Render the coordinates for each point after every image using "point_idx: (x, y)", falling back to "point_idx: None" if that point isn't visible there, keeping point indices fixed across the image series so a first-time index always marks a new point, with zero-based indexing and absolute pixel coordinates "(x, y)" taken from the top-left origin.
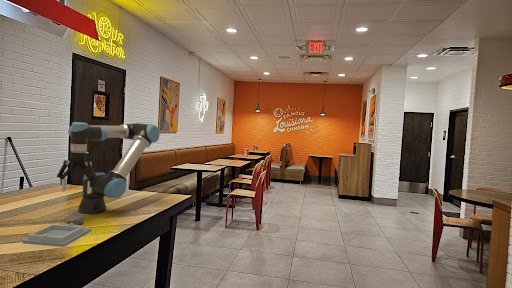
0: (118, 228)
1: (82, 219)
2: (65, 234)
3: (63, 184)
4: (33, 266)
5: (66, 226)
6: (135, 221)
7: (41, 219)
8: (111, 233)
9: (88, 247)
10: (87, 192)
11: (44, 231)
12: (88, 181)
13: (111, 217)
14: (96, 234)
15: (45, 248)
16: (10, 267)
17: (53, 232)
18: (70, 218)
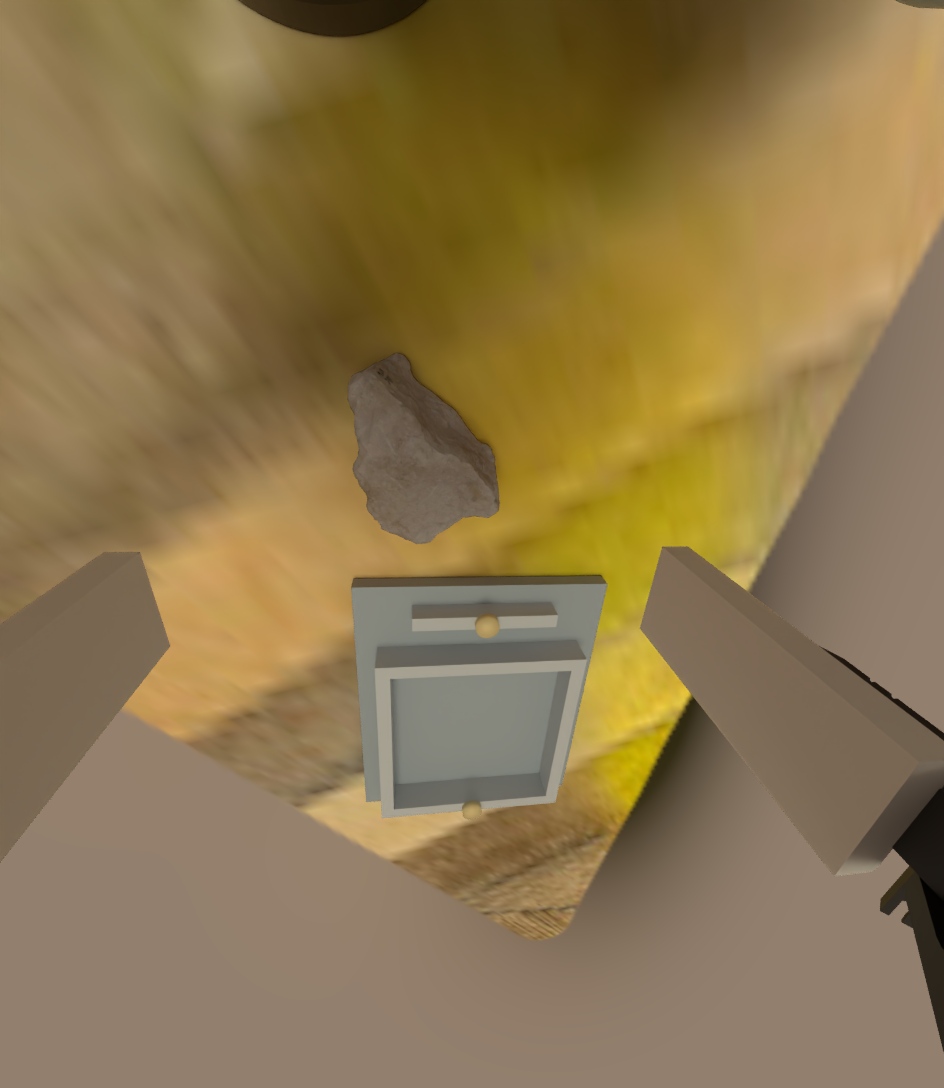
0: (757, 489)
1: (494, 479)
2: (509, 702)
3: (57, 774)
4: (544, 886)
5: (483, 673)
6: (888, 263)
7: (54, 408)
8: None
9: (657, 754)
10: (653, 641)
11: (392, 726)
12: (846, 868)
13: (660, 149)
14: None
15: None
16: (486, 903)
17: (429, 694)
18: (409, 523)
